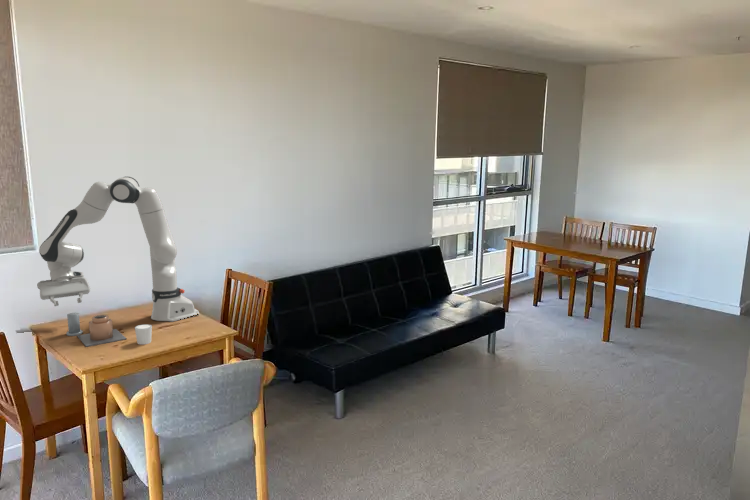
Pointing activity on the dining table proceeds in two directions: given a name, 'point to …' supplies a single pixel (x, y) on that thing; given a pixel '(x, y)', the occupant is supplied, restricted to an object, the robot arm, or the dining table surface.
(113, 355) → the dining table surface
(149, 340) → the white cup
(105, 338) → the jar
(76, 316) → the stopper
